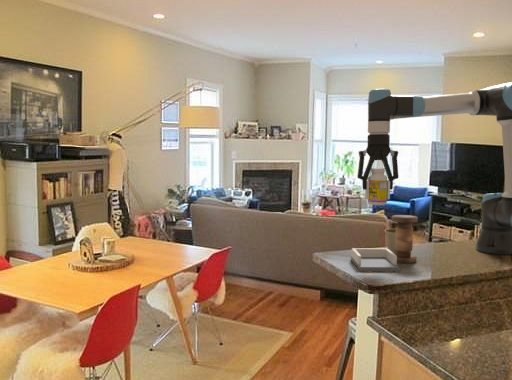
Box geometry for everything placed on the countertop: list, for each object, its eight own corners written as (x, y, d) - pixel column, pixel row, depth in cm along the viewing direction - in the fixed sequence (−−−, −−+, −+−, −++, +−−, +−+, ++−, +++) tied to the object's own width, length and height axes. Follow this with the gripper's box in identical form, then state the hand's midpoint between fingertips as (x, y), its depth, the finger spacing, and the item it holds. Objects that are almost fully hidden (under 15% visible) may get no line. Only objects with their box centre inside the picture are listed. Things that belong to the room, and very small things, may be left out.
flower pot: (381, 253, 186) (381, 231, 186) (386, 249, 195) (387, 227, 194) (406, 256, 182) (406, 233, 181) (410, 251, 190) (411, 229, 190)
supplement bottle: (363, 203, 174) (364, 168, 173) (378, 202, 177) (379, 167, 176) (375, 205, 168) (376, 168, 167) (390, 204, 171) (391, 168, 169)
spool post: (411, 257, 180) (413, 215, 179) (419, 263, 171) (421, 218, 170) (387, 257, 180) (388, 214, 179) (394, 263, 171) (395, 218, 170)
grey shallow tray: (386, 260, 176) (387, 248, 175) (399, 271, 160) (399, 258, 159) (351, 260, 176) (351, 247, 175) (360, 271, 160) (360, 258, 159)
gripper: (403, 134, 174) (402, 197, 176) (348, 134, 174) (348, 197, 176) (409, 133, 166) (408, 199, 168) (352, 133, 166) (351, 200, 169)
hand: (377, 198), depth 172 cm, fingers closed on supplement bottle, 7 cm apart
